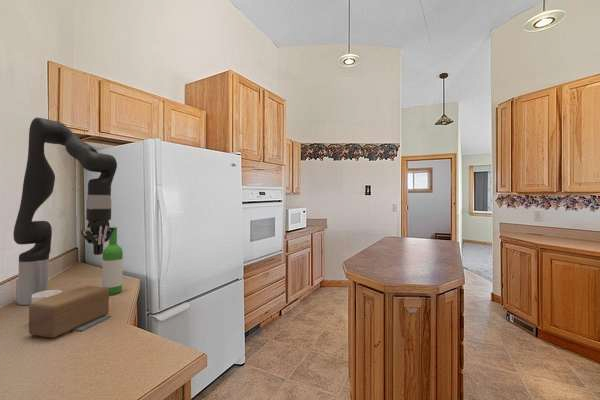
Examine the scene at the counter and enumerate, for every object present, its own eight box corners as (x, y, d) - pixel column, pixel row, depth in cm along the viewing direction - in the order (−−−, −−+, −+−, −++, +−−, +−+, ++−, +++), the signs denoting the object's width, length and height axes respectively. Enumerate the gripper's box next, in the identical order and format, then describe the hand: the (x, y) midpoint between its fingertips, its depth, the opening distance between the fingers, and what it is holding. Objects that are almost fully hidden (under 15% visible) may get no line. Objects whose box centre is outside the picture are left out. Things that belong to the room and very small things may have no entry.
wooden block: (109, 313, 106) (52, 339, 86) (87, 311, 108) (26, 335, 88) (110, 286, 106) (53, 305, 86) (87, 284, 108) (27, 302, 88)
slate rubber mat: (48, 329, 94) (48, 327, 94) (80, 314, 106) (81, 313, 106) (82, 331, 93) (82, 329, 93) (110, 316, 105) (110, 315, 105)
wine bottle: (97, 294, 129) (98, 227, 129) (114, 289, 136) (115, 226, 137) (109, 296, 126) (110, 228, 126) (126, 291, 133) (127, 227, 134)
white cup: (66, 319, 102) (67, 291, 102) (40, 328, 94) (41, 298, 95) (51, 316, 104) (52, 288, 105) (25, 325, 97) (25, 295, 97)
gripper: (104, 206, 113) (103, 251, 113) (73, 207, 100) (72, 257, 100) (121, 207, 112) (120, 251, 112) (93, 208, 99) (92, 258, 99)
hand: (98, 254), depth 106 cm, fingers closed
